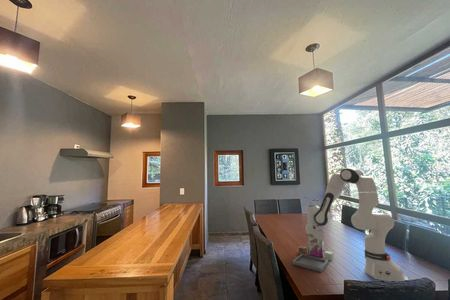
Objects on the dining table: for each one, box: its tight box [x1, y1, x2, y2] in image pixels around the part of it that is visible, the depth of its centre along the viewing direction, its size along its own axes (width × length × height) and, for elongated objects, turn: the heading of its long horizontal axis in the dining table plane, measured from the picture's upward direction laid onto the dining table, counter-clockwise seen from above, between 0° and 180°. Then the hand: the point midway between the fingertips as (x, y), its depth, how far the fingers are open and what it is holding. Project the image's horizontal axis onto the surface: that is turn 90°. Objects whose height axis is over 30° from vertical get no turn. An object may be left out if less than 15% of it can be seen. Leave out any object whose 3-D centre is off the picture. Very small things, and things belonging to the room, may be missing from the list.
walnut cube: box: [298, 245, 308, 255], centre depth 172 cm, size 5×5×5 cm
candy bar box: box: [306, 233, 324, 259], centre depth 167 cm, size 11×5×16 cm, turn 60°
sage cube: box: [323, 250, 334, 261], centre depth 160 cm, size 5×5×5 cm
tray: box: [292, 254, 330, 273], centre depth 152 cm, size 20×18×2 cm
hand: (314, 242), depth 168 cm, fingers open, 8 cm apart
